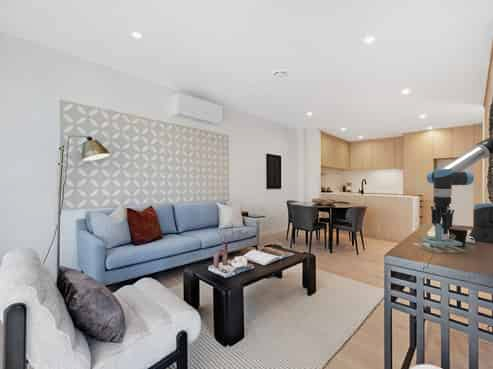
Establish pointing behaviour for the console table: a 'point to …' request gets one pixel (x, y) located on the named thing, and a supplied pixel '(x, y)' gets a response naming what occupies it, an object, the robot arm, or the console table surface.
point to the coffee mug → (458, 234)
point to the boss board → (438, 248)
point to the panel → (441, 243)
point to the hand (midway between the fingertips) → (441, 238)
